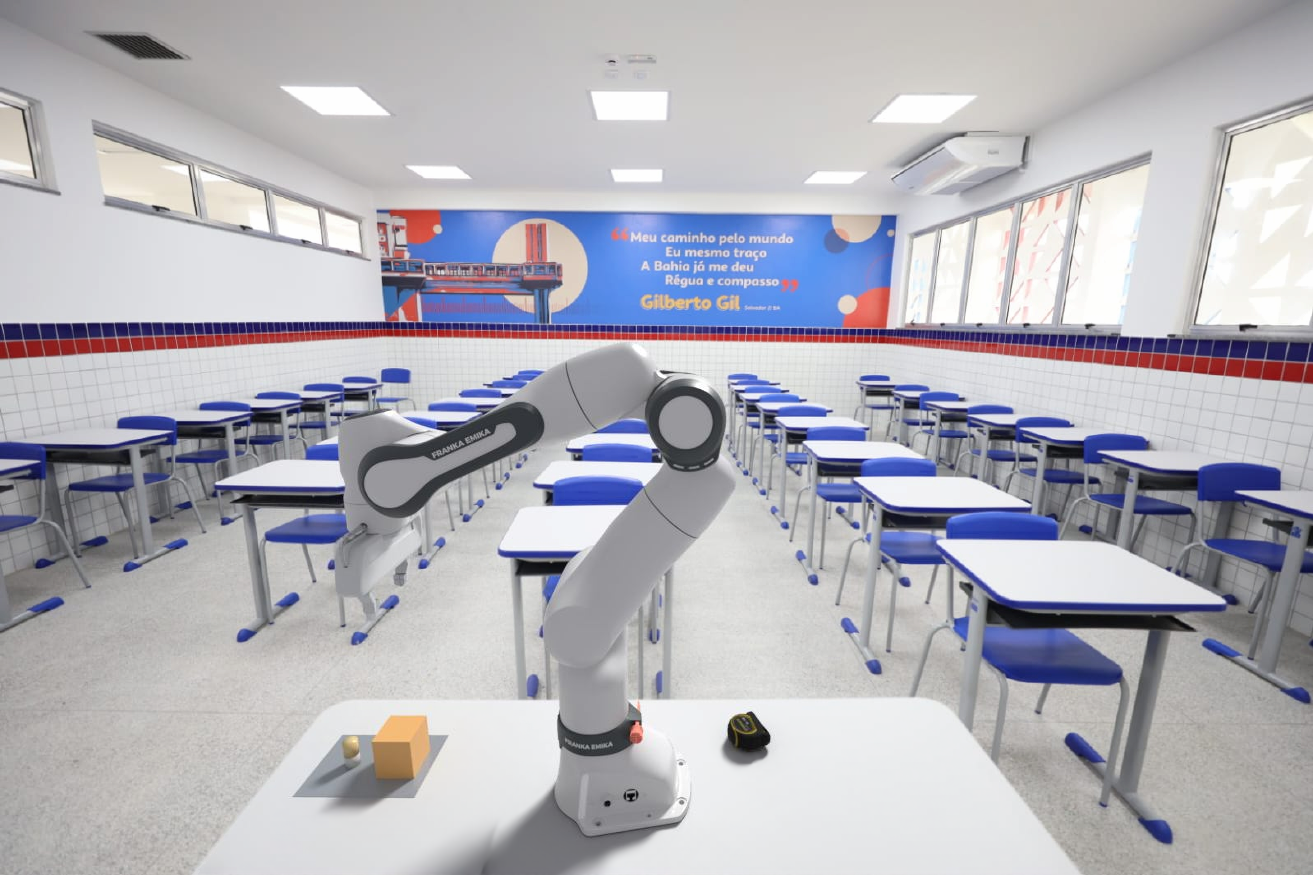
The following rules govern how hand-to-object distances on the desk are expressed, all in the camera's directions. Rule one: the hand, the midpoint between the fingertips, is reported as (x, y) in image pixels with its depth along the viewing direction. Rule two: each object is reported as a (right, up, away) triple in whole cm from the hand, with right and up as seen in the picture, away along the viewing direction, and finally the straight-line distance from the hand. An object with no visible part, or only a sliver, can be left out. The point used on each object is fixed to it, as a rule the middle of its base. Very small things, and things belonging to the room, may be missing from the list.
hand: (387, 596), depth 89 cm
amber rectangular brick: (-1, -31, +8) cm, 32 cm away
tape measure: (+60, -30, +14) cm, 69 cm away
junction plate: (-6, -33, +8) cm, 34 cm away
